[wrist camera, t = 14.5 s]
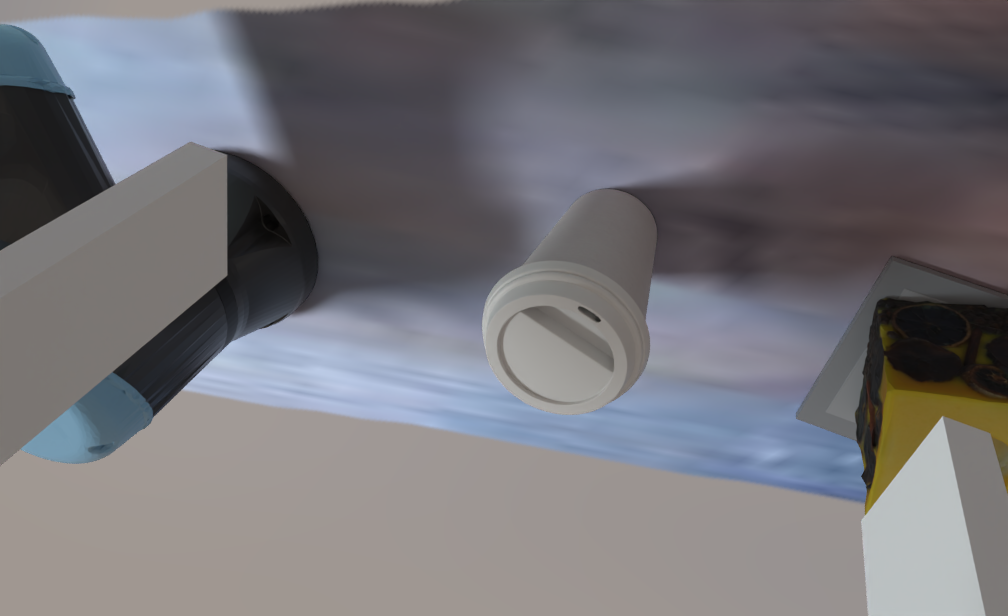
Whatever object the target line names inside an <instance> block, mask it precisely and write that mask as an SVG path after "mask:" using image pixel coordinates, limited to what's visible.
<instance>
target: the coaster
mask: <svg viewBox="0 0 1008 616" xmlns="http://www.w3.org/2000/svg"><path fill="white" fill-rule="evenodd" d="M883 298H891V299H895V300H906V301H913V302H923V301H930V302H933V303H945V304H966V305H985V306H987V307H988V308H991V307H995V308H1005V309H1006V308H1008V295H1005V294H1002V293H999V292H997V291H994V290H991V289H988V288H985V287H982V286H979V285H976V284H973V283H970V282H967V281H964V280H961V279H958V278H955V277H952V276H949V275H946V274H943V273H940V272H937V271H934V270H931V269H929V268H926V267H923V266H920V265H917V264H914V263H911V262H908V261H905V260H902V259H899V258H896V257H893V256H892V257H891V258H890V260H889V262H888V263H887V265H886V267H885V268H884V270H883V271H882V273H881V275H880V276H879V278H878V280H877V281H876V283H875V285H874V286H873V288H872V289H871V291H870V293H869V294H868V296H867V298H866V299H865V301H864V303H863V304H862V306H861V308H860V309H859V311H858V312H857V314H856V316H855V317H854V319H853V321H852V322H851V324H850V326H849V327H848V329H847V330H846V332H845V334H844V335H843V337H842V339H841V340H840V342H839V344H838V345H837V347H836V349H835V350H834V352H833V353H832V355H831V357H830V358H829V360H828V362H827V363H826V365H825V367H824V368H823V370H822V371H821V373H820V375H819V376H818V378H817V380H816V381H815V383H814V385H813V386H812V388H811V389H810V391H809V393H808V394H807V396H806V398H805V399H804V401H803V403H802V404H801V406H800V408H799V409H798V411H797V412H796V419H799V420H801V421H804V422H807V423H809V424H812V425H815V426H817V427H820V428H823V429H826V430H828V431H831V432H834V433H836V434H839V435H842V436H844V437H847V438H850V439H852V440H855V441H857V438H856V429H857V424H856V421H855V411H856V410H857V408H858V407H859V400H860V393H861V389H862V385H863V378H864V375H863V374H862V371H863V368H864V365H865V359H866V356H867V344H868V342H869V332H870V326H871V325H872V320H873V314H874V311H875V307H876V304H877V302H878V301H879V300H880V299H883Z"/></svg>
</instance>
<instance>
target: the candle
mask: <svg viewBox="0 0 1008 616" xmlns="http://www.w3.org/2000/svg"><path fill="white" fill-rule="evenodd" d="M862 374H863V375H864V378H863V385H862V389H861V393H860V400H859V407H858V408H857V410H856V411H855V421H856V424H857V429H856V438H857V443H858V445H859V447H860V449H861V453H862V459H863V464H864V472H863V474H862V476H861V477H862V479H863V480H864V482H865V484H866V485H867V486H866V488H867V495H866V502H865V515H866V514H867V513H868V511H869V510H870V509H871V508H872V506H873V505H874V504H875V502H876V501H877V500H878V499H879V497H880V496H881V495H882V493H883V492H884V491H885V490H886V488H887V487H888V486H889V484H890V483H891V482H892V481H893V479H894V478H895V477H896V475H897V474H898V473H899V471H900V470H901V469H902V468H903V466H904V465H905V464H906V462H907V461H908V460H909V459H910V457H911V456H912V455H913V453H914V452H915V451H916V450H917V448H918V447H919V446H920V444H921V443H922V442H923V441H924V439H925V438H926V437H927V435H928V434H929V433H930V432H931V430H932V429H933V428H934V426H935V425H936V424H937V423H938V421H939V420H940V419H941V417H942V416H944V417H947V418H950V419H952V420H955V421H958V422H961V423H963V424H966V425H969V426H972V427H974V428H977V429H980V430H982V431H985V432H988V433H990V434H991V438H992V441H993V445H994V448H995V452H996V455H997V459H998V462H999V466H1000V469H1001V473H1002V476H1003V480H1004V483H1005V487H1006V491H1007V494H1008V308H1006V309H1005V308H995V307H991V308H988V307H987V306H985V305H966V304H945V303H933V302H930V301H923V302H913V301H906V300H895V299H891V298H883V299H880V300H879V301H878V302H877V304H876V307H875V311H874V314H873V320H872V325H871V326H870V332H869V342H868V344H867V356H866V359H865V365H864V368H863V371H862Z"/></svg>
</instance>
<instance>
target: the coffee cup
mask: <svg viewBox="0 0 1008 616" xmlns="http://www.w3.org/2000/svg"><path fill="white" fill-rule="evenodd" d="M656 244H657V227H656V223H655V220H654V218H653V216H652V214H651V212H650V211H649V209H648V208H647V207H646V206H645V205H644V204H643V203H642V202H641V201H640V200H638V199H637V198H636V197H634V196H632V195H630V194H628V193H626V192H623V191H619V190H614V189H600V190H595V191H591V192H589V193H586V194H585V195H583V196H581V197H580V198H579V199H577V200H576V201H575V202H574V203H573V204H572V206H571V207H570V208H569V209H568V210H567V212H566V213H565V214H564V215H563V217H562V218H561V219H560V220H559V221H558V223H557V224H556V225H555V226H554V227H553V229H552V230H551V231H550V232H549V234H548V235H547V236H546V237H545V238H544V240H543V241H542V242H541V243H540V245H539V246H538V247H537V248H536V249H535V251H534V252H533V253H532V254H531V255H530V257H529V258H528V259H527V260H526V261H525V263H524V264H523V265H522V266H521V267H518V268H516V269H514V270H512V271H511V272H509V273H508V274H506V275H505V276H504V277H502V278H501V279H500V280H499V281H498V282H497V283H496V285H495V286H494V287H493V289H492V290H491V292H490V294H489V296H488V298H487V300H486V303H485V307H484V312H483V318H482V332H483V340H484V345H485V349H486V355H487V358H488V362H489V364H490V366H491V369H492V370H493V372H494V374H495V376H496V377H497V378H498V380H499V381H500V382H501V384H502V385H503V386H504V387H505V388H506V389H507V390H508V391H509V392H510V393H512V394H513V395H514V396H515V397H517V398H518V399H520V400H521V401H523V402H525V403H526V404H528V405H530V406H532V407H535V408H537V409H540V410H543V411H546V412H550V413H555V414H562V415H577V414H584V413H588V412H592V411H595V410H597V409H599V408H601V407H603V406H605V405H606V404H608V403H610V402H612V401H614V400H616V399H617V398H619V397H620V396H621V395H623V394H624V393H625V392H627V391H628V390H629V389H630V388H631V387H632V386H633V385H634V383H635V382H636V381H637V380H638V379H639V377H640V376H641V374H642V373H643V371H644V369H645V367H646V364H647V361H648V357H649V352H650V337H649V331H648V327H647V324H646V321H645V319H646V312H647V305H648V298H649V291H650V285H651V278H652V271H653V264H654V258H655V251H656Z"/></svg>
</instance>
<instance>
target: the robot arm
mask: <svg viewBox="0 0 1008 616" xmlns="http://www.w3.org/2000/svg"><path fill="white" fill-rule="evenodd" d="M74 99H75V95H74V93H73V91H72V90H71V89H70V88H68V87H67V86H65V84H64V82H63V81H62V79H61V77H60V75H59V73H58V72H57V70H56V68H55V66H54V64H53V63H52V61H51V59H50V57H49V55H48V54H47V52H46V50H45V48H44V47H43V45H42V44H41V43H40V41H39V40H38V39H37V38H36V37H35V36H34V35H32V34H31V33H29V32H28V31H26V30H24V29H21V28H19V27H16V26H12V25H6V24H0V466H1V465H2V464H3V463H4V462H6V461H7V460H8V459H9V458H10V457H11V456H13V455H14V454H15V453H16V452H17V451H19V450H20V449H21V450H23V451H25V452H27V453H29V454H32V455H35V456H38V457H40V458H44V459H47V460H51V461H57V462H62V463H72V464H79V463H88V462H93V461H96V460H99V459H101V458H104V457H106V456H108V455H109V454H111V453H112V452H114V451H115V450H116V449H117V448H119V447H120V446H121V445H122V444H124V443H125V442H126V441H127V440H129V439H130V438H131V437H132V436H134V435H135V434H136V433H137V432H138V431H140V430H142V429H145V428H146V427H147V426H148V425H149V424H150V423H151V421H152V419H153V417H154V416H155V415H156V414H157V413H158V412H159V411H160V410H161V409H162V408H163V407H164V406H165V405H167V403H169V402H170V401H171V400H172V399H173V398H174V396H176V395H177V394H178V393H179V392H180V391H181V390H182V389H183V388H184V387H185V386H186V385H187V384H188V383H189V382H190V381H191V380H192V379H193V378H194V377H195V376H196V375H197V374H198V373H199V372H200V371H201V370H202V369H203V368H204V367H205V366H206V365H207V364H208V363H209V362H210V361H211V360H212V359H213V358H215V357H216V356H217V355H218V354H219V353H220V352H221V351H222V350H223V349H224V348H225V347H226V346H227V345H228V344H229V343H230V342H232V341H234V340H236V339H238V338H240V337H242V336H245V335H247V334H249V333H251V332H254V331H256V330H258V329H262V328H266V327H269V326H272V325H274V324H277V323H279V322H281V321H282V320H284V319H285V318H287V317H288V316H289V315H290V314H292V313H293V312H294V311H295V310H296V309H297V308H298V307H299V306H300V305H301V304H302V303H303V302H304V300H305V299H306V298H307V297H308V295H309V294H310V292H311V291H312V289H313V286H314V284H315V280H316V276H317V269H318V258H317V250H316V245H315V241H314V238H313V235H312V232H311V229H310V227H309V225H308V223H307V221H306V219H305V217H304V215H303V213H302V212H301V210H300V209H299V207H298V206H297V204H296V203H295V201H294V200H293V199H292V198H291V196H290V195H289V194H288V193H287V192H286V191H285V189H284V188H283V187H282V186H281V185H280V184H279V183H277V182H276V181H275V180H274V179H273V178H272V177H270V176H269V175H268V174H267V173H265V172H264V171H262V170H261V169H259V168H258V167H256V166H255V165H253V164H251V163H249V162H247V161H245V160H243V159H241V158H238V157H236V156H233V155H230V154H226V153H221V152H217V151H215V150H212V149H209V148H206V147H204V146H201V145H198V144H195V143H193V142H189V143H187V144H186V145H184V146H182V147H180V148H179V149H177V150H175V151H173V152H172V153H170V154H168V155H166V156H165V157H163V158H161V159H159V160H158V161H156V162H154V163H152V164H151V165H149V166H147V167H145V168H144V169H142V170H140V171H138V172H137V173H135V174H133V175H131V176H130V177H128V178H126V179H124V180H123V181H121V182H119V183H117V184H115V182H114V180H113V178H112V176H111V174H110V172H109V170H108V168H107V166H106V164H105V162H104V160H103V158H102V156H101V154H100V152H99V150H98V148H97V146H96V145H95V143H94V141H93V139H92V137H91V135H90V133H89V131H88V129H87V127H86V125H85V123H84V121H83V119H82V117H81V115H80V113H79V111H78V109H77V107H76V105H75V103H74V101H73V100H74ZM861 524H862V537H863V552H864V565H865V579H866V592H867V606H868V616H1008V494H1007V491H1006V487H1005V483H1004V480H1003V476H1002V473H1001V469H1000V466H999V462H998V459H997V455H996V452H995V448H994V445H993V441H992V438H991V434H990V433H988V432H985V431H982V430H980V429H977V428H974V427H972V426H969V425H966V424H963V423H961V422H958V421H955V420H952V419H950V418H947V417H944V416H942V417H941V419H940V420H939V421H938V423H937V424H936V425H935V426H934V428H933V429H932V430H931V432H930V433H929V434H928V435H927V437H926V438H925V439H924V441H923V442H922V443H921V444H920V446H919V447H918V448H917V450H916V451H915V452H914V453H913V455H912V456H911V457H910V459H909V460H908V461H907V462H906V464H905V465H904V466H903V468H902V469H901V470H900V471H899V473H898V474H897V475H896V477H895V478H894V479H893V481H892V482H891V483H890V484H889V486H888V487H887V488H886V490H885V491H884V492H883V493H882V495H881V496H880V497H879V499H878V500H877V501H876V502H875V504H874V505H873V506H872V508H871V509H870V510H869V511H868V513H867V514H866V515H865V517H864V518H863V519H862V520H861Z"/></svg>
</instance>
